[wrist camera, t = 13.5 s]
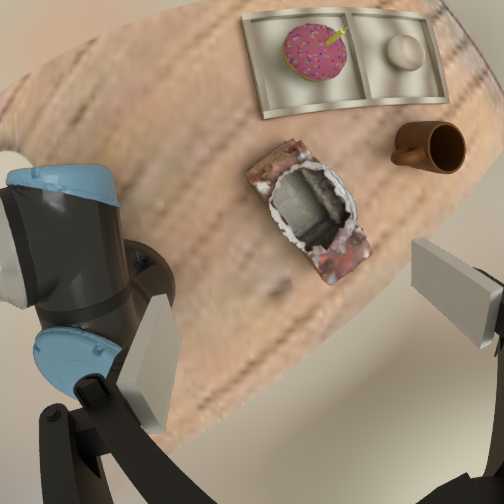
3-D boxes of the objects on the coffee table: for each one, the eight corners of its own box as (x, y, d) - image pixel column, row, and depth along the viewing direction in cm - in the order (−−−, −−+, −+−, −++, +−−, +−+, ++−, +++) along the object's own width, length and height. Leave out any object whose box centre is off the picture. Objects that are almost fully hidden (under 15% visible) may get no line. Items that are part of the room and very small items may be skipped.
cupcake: (311, 24, 37) (336, -8, 26) (347, 68, 40) (383, 49, 28) (265, 52, 38) (278, 24, 27) (303, 98, 41) (328, 84, 30)
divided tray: (262, 120, 42) (264, 118, 40) (240, 20, 37) (241, 14, 35) (441, 103, 42) (450, 103, 40) (421, 18, 37) (428, 14, 35)
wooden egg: (385, 74, 40) (404, 67, 34) (376, 39, 38) (394, 28, 32) (415, 74, 40) (436, 69, 34) (407, 40, 38) (427, 32, 32)
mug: (378, 180, 46) (408, 190, 38) (365, 133, 44) (394, 133, 35) (435, 161, 46) (470, 168, 37) (425, 117, 43) (460, 116, 34)
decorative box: (317, 121, 43) (339, 117, 34) (373, 234, 49) (402, 255, 40) (238, 166, 44) (241, 171, 35) (304, 276, 51) (320, 305, 42)
